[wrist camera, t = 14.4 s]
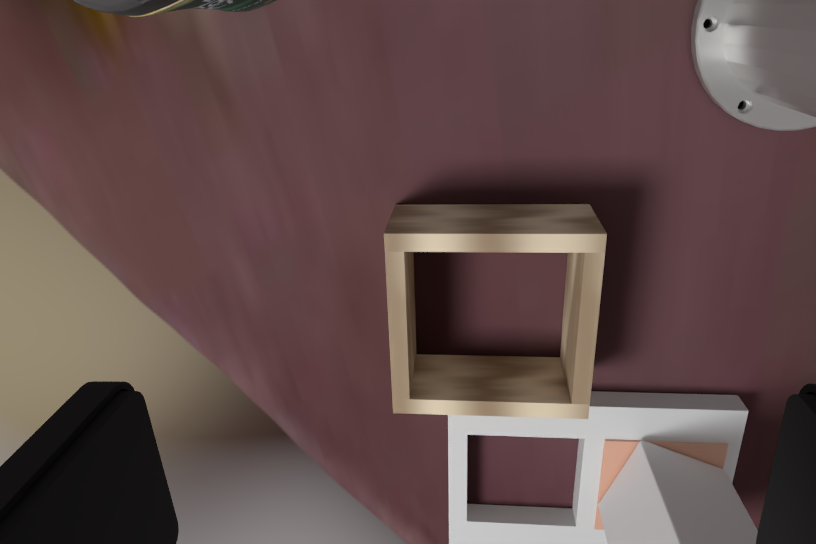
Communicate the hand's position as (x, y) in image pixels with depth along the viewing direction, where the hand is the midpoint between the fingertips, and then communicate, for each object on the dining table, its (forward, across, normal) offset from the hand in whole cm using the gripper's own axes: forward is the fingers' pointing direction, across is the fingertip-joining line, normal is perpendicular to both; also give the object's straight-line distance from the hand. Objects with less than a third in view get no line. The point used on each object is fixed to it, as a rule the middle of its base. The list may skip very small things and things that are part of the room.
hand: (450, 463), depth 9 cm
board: (+34, -9, +30) cm, 46 cm away
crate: (+34, -1, +13) cm, 37 cm away
